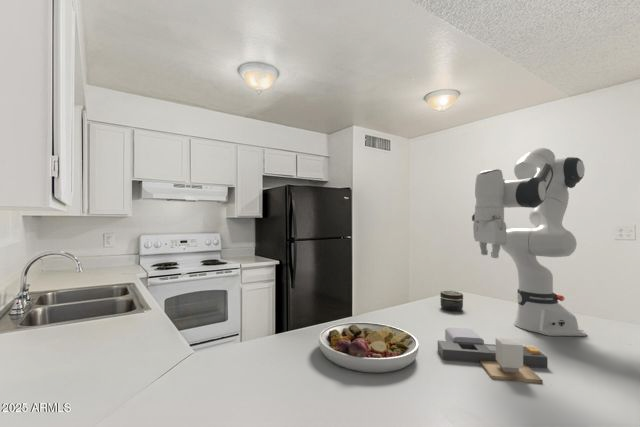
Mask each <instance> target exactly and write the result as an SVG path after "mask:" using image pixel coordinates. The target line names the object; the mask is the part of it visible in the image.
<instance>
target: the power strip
mask: <svg viewBox="0 0 640 427" xmlns="http://www.w3.org/2000/svg"><path fill="white" fill-rule="evenodd" d="M437 352H438V353H439V355H440V357H441V359H442V360H443V361H455V362H456V361H457V362H467V363H468V362H469V363H479V364H480V361H492V362H498V361H497V360H496V344H490V343H484V344H480V343H466V342H452V341H446V340H437ZM523 364H525V365H527V366H528V367H529V368H540V369H541V368H542V369H543V368H544V369H548V356H547V355H546V354H544V353H542V352H541V350H539V349H537V348H536V346H523Z"/></svg>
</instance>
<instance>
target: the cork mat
mask: <svg viewBox="0 0 640 427" xmlns="http://www.w3.org/2000/svg"><path fill="white" fill-rule="evenodd" d="M479 364H480V366H481V367H482V369H483V370H484V371H485V372H486V374H487V375H488V376H489V377H490V378H491V380H501V381H511V382H525V383H536V384H543V381H544V379H542V378H541V377H540V376H539V375H538V374H537V373H536V372H534V371H533V370H532V369H531V367H528V366H527V365H525V364H523V369H522V368H519V373H513V372H504V371H503V370H502V369H501V367H500V366H499V363H498V362H492V361H480V363H479Z"/></svg>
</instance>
